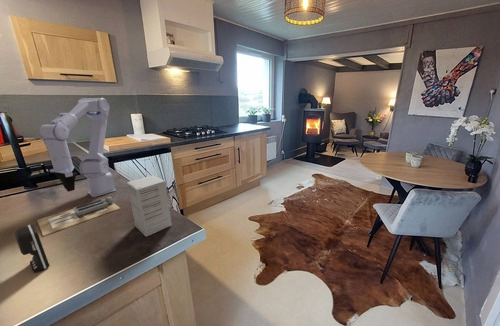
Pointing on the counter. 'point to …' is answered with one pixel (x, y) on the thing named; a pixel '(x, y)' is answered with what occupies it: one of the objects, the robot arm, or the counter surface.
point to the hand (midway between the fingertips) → (70, 189)
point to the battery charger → (32, 247)
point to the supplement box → (149, 204)
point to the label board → (71, 219)
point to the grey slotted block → (93, 206)
